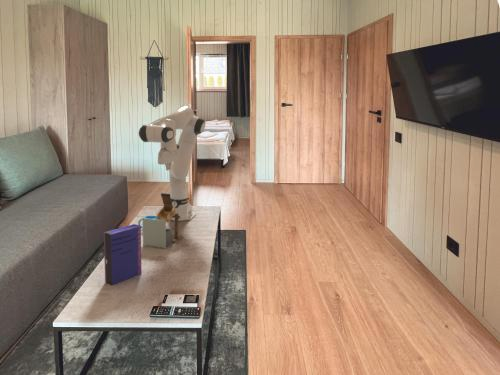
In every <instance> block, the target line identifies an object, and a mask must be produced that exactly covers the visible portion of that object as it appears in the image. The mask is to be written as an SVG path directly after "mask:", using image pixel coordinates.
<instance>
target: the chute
mask: <svg viewBox="0 0 500 375" xmlns="http://www.w3.org/2000/svg"><path fill="white" fill-rule="evenodd" d="M160 196H161V200H162V203H163V206H162V207H161V208H160V209H159V210H158V212H157V213H158V214H157V213H156V215H155V216H156V217H157V220H164V221H166V223H168V224H169V223H170V222H171V221H172V220H171V219H172V217H173V218H175V216H174V215H175V213H176V209H175V207H174V206H172V202H171V197H170V193H160Z"/></svg>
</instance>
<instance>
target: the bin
mask: <svg viewBox="0 0 500 375" xmlns="http://www.w3.org/2000/svg"><path fill="white" fill-rule="evenodd" d="M142 218H143V220H142V227H143V229H142V246H144V247H150V248H156V249H157V248H158V249H162V250H164V249H165V250H166V249H167V247H168V246H170V245H171V244H173V235H174V234H173V228H172V229H171V228H167V224H166V223H167V222H166V221H164V220H156V219H148V218H144V217H142Z"/></svg>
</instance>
